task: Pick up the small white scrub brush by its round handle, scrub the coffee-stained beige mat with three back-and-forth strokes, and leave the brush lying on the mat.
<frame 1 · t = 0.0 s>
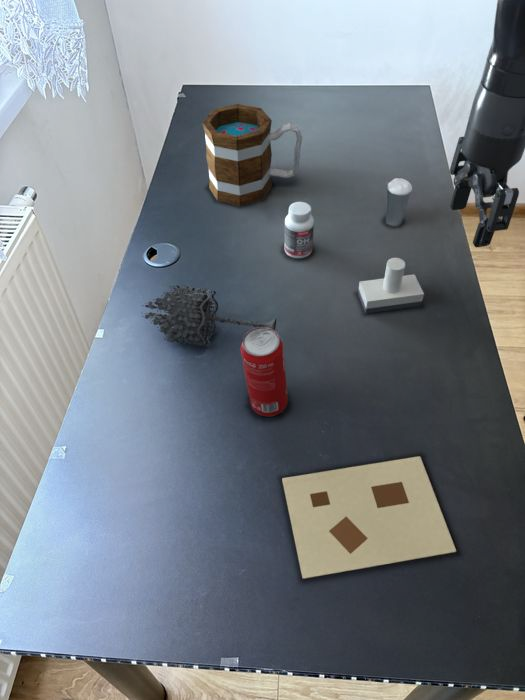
hand: (468, 226, 85), 21 cm above the table, tool pointing down, fingers open, 8 cm apart
milkshake: (391, 222, 119), on the table
stain mat: (365, 513, 80), on the table
dark grey model tree: (210, 337, 101), on the table
mug: (254, 187, 128), on the table
pill bottle: (298, 250, 114), on the table
beverage can: (266, 404, 92), on the table
scrub brush: (388, 299, 105), on the table
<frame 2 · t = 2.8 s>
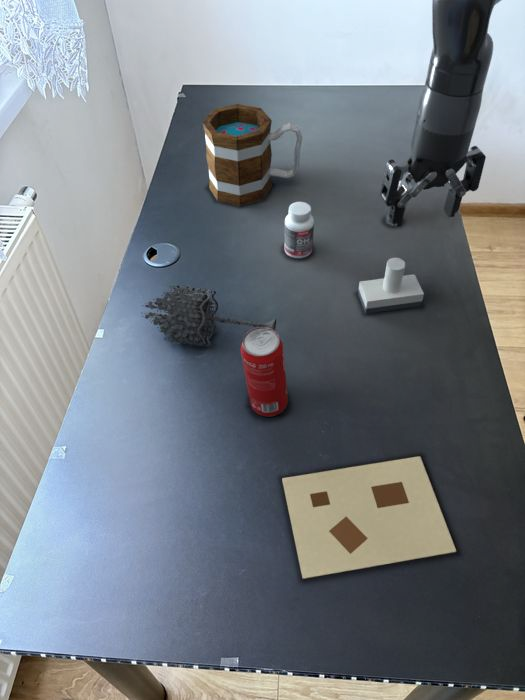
hand: (422, 218, 90), 19 cm above the table, tool pointing down, fingers open, 8 cm apart
nothing on the table moved.
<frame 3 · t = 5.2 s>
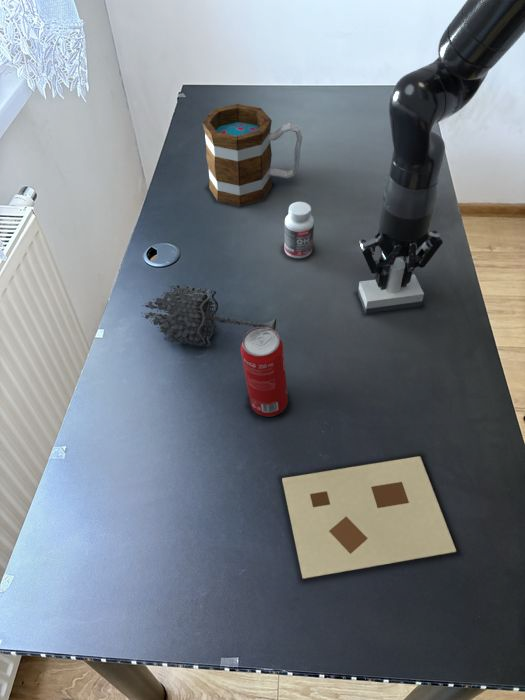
hand: (392, 284, 102), 4 cm above the table, tool pointing down, fingers closed on scrub brush, 3 cm apart
scrub brush: (388, 299, 105), on the table, touching gripper
everything else where it was.
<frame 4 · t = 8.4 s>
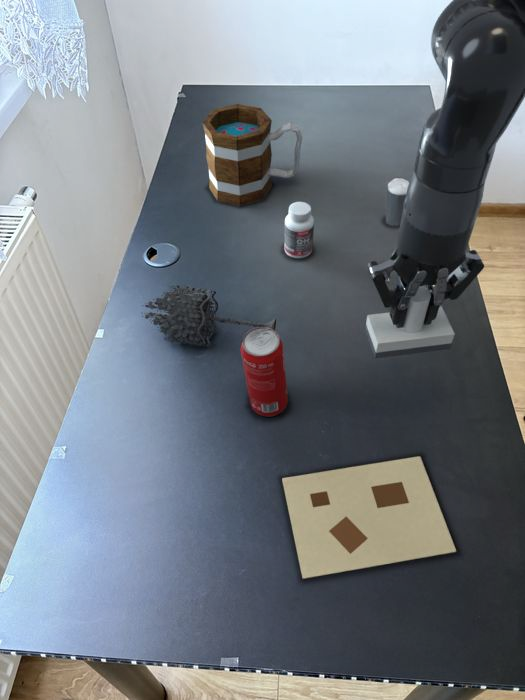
hand: (411, 321, 76), 19 cm above the table, tool pointing down, fingers closed on scrub brush, 3 cm apart
scrub brush: (406, 339, 79), point 16 cm above the table, touching gripper
everything else where it was.
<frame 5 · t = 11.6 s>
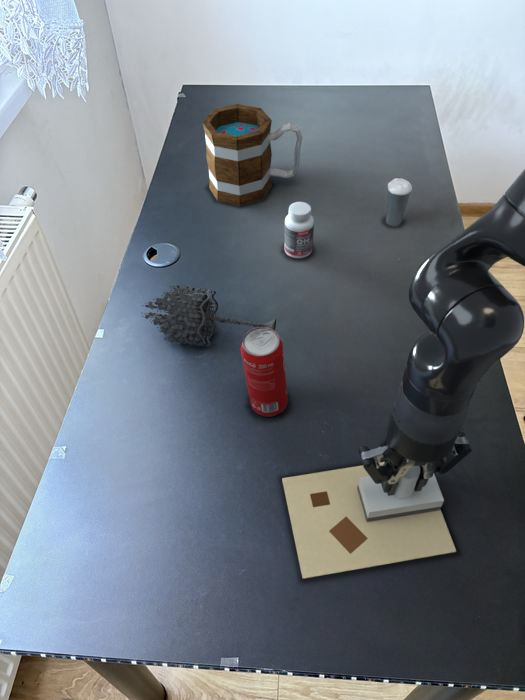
hand: (402, 486, 78), 4 cm above the table, tool pointing down, fingers closed on scrub brush, 3 cm apart
scrub brush: (397, 499, 81), resting on stain mat, touching gripper
everything else where it was.
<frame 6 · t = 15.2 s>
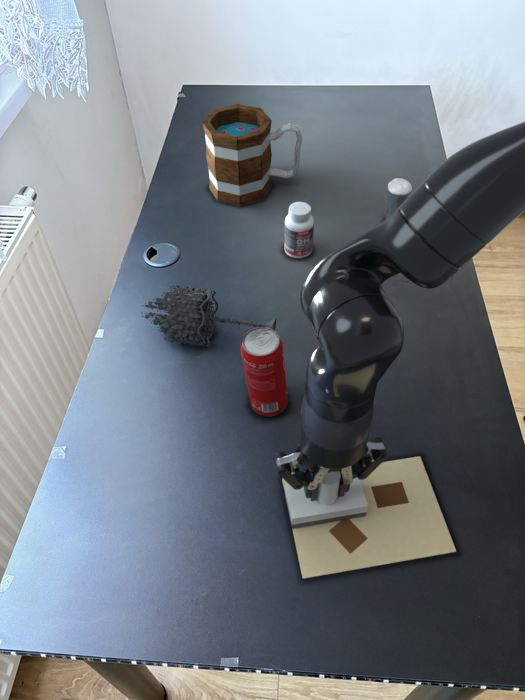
hand: (326, 491, 78), 4 cm above the table, tool pointing down, fingers closed on scrub brush, 3 cm apart
scrub brush: (324, 505, 80), resting on stain mat, touching gripper
everything else where it was.
when the fingers open (4 cm above the table, at t = 18.0 s): scrub brush stays where it is, resting on stain mat.
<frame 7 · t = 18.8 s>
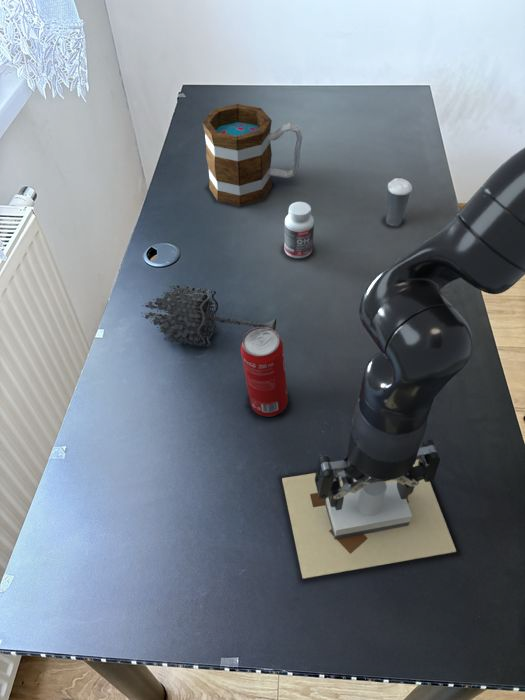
hand: (369, 497, 76), 5 cm above the table, tool pointing down, fingers open, 8 cm apart
scrub brush: (366, 514, 79), resting on stain mat
everything else where it was.
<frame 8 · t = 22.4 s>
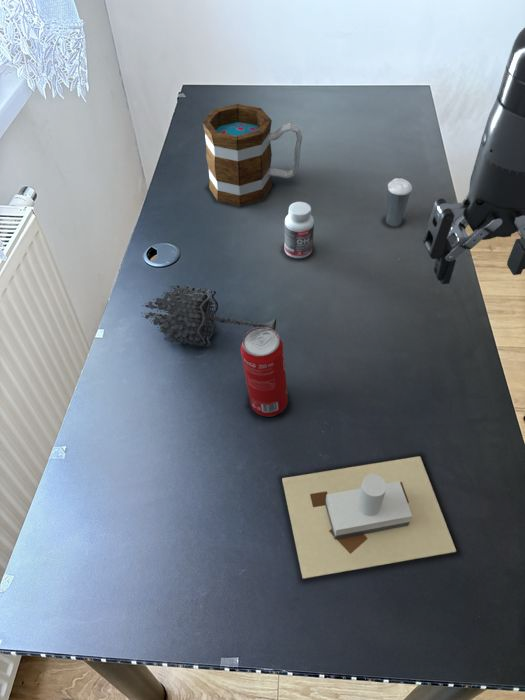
hand: (478, 274, 68), 28 cm above the table, tool pointing down, fingers open, 8 cm apart
nothing on the table moved.
at the end: scrub brush inside the target area on the stain mat (0.3 cm from its centre), point 0.2 cm above the stain mat's base; scrub brush tilted 0°; the gripper is holding nothing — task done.
